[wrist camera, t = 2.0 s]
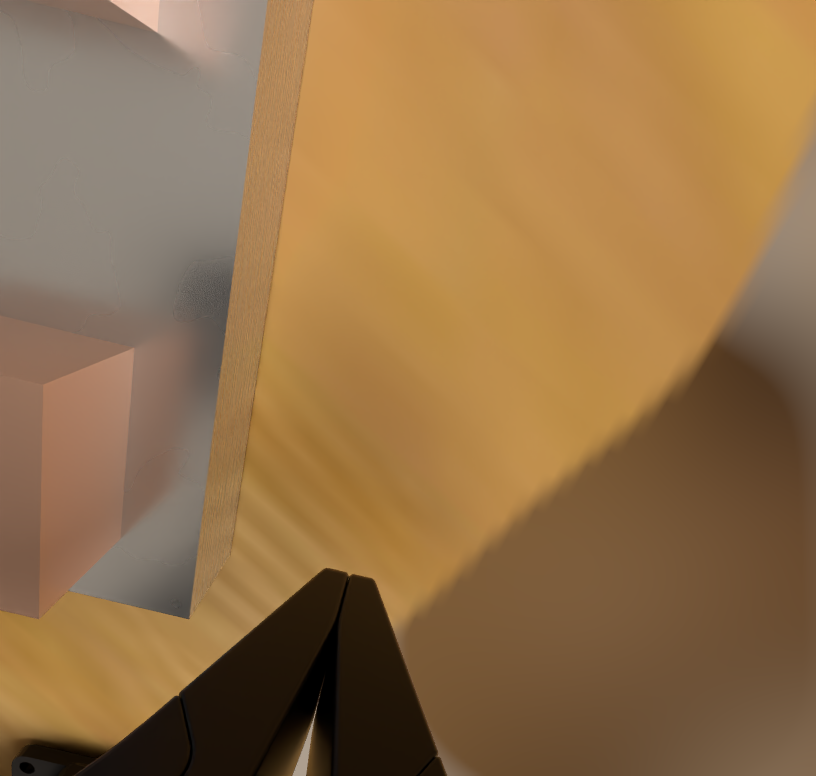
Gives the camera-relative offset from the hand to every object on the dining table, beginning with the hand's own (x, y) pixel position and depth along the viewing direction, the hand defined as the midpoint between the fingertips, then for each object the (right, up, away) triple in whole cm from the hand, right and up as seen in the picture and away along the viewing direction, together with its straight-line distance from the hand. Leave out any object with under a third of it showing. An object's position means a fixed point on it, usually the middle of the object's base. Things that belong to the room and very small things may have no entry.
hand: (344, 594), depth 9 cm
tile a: (-7, +3, +2) cm, 8 cm away
